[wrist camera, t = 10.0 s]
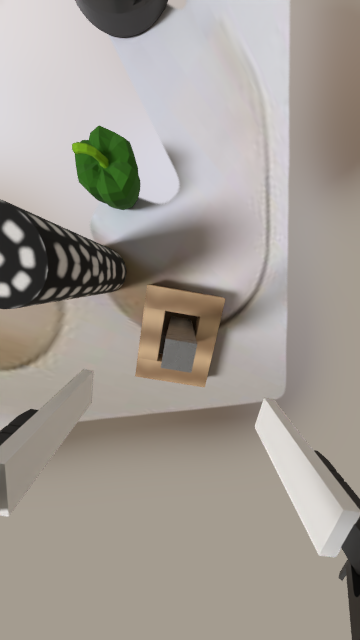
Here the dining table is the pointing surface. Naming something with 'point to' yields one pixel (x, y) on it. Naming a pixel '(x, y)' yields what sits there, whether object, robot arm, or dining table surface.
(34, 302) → the white-spotted black cylinder
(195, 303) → the wooden rectangular frame
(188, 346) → the bracket
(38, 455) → the robot arm
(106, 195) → the bell pepper
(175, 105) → the dining table surface
